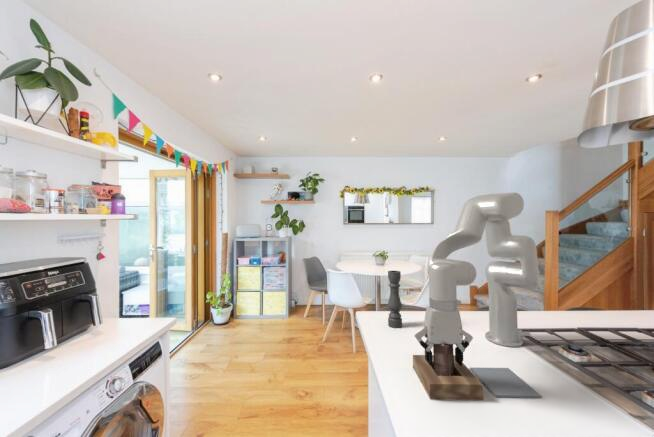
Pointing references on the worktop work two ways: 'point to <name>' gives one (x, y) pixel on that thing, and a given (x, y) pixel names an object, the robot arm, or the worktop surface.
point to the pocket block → (448, 381)
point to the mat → (504, 383)
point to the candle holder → (394, 300)
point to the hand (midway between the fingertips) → (443, 362)
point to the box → (443, 359)
